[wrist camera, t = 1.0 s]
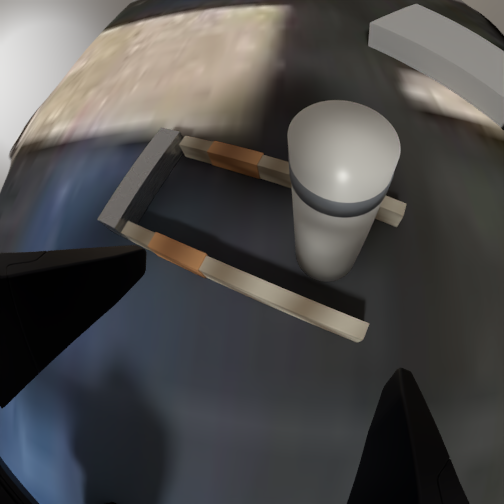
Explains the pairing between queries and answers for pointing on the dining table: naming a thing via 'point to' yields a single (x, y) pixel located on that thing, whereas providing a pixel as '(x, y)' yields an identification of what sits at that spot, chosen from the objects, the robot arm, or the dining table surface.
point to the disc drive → (445, 55)
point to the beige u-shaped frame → (125, 224)
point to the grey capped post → (337, 182)
